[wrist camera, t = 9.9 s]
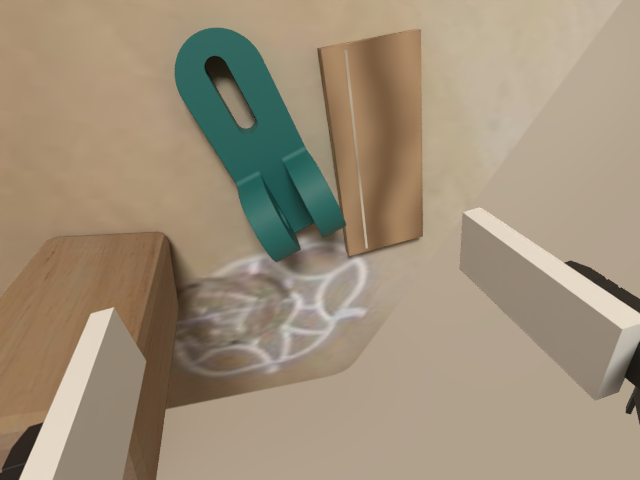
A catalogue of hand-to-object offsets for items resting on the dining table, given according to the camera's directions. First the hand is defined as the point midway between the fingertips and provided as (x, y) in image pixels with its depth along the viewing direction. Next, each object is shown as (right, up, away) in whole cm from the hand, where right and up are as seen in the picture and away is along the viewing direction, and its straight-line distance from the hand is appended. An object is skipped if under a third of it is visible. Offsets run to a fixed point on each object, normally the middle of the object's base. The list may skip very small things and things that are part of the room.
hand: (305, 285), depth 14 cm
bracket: (-5, +11, +19) cm, 22 cm away
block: (-19, -2, +22) cm, 29 cm away
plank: (+6, +10, +22) cm, 25 cm away
